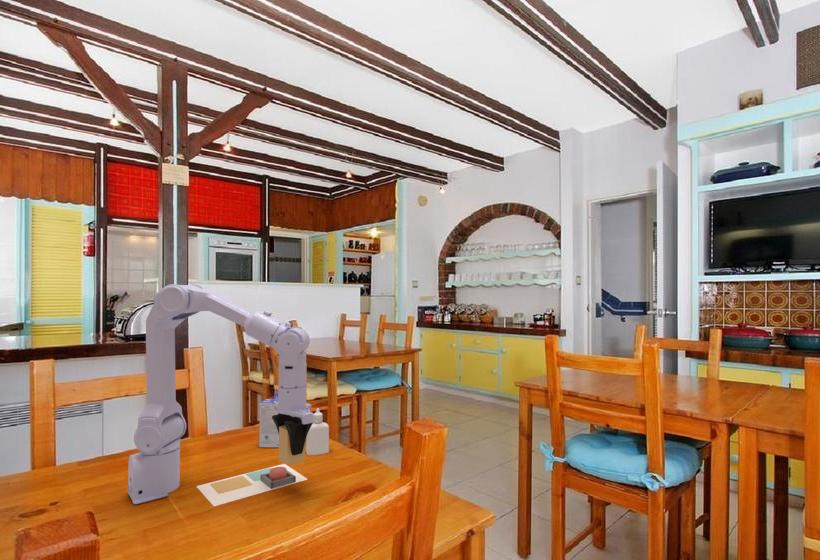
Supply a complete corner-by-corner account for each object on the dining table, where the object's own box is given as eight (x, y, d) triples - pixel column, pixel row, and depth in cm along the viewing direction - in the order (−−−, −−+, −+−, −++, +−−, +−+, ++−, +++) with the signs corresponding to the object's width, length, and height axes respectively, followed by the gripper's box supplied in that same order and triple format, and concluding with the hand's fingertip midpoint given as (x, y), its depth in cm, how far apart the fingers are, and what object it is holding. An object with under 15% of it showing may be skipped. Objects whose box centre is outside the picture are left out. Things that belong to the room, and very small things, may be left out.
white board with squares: (213, 510, 90) (213, 500, 90) (196, 489, 99) (196, 480, 99) (308, 482, 103) (308, 473, 103) (284, 467, 112) (284, 458, 112)
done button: (273, 483, 99) (273, 474, 99) (266, 478, 102) (266, 469, 102) (289, 479, 102) (289, 470, 102) (282, 474, 104) (282, 465, 104)
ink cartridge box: (300, 441, 131) (300, 389, 131) (295, 448, 125) (295, 394, 126) (265, 441, 131) (265, 389, 131) (258, 448, 125) (258, 394, 126)
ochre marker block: (287, 465, 95) (287, 430, 95) (278, 460, 98) (279, 426, 98) (305, 460, 97) (305, 427, 97) (296, 455, 100) (296, 422, 100)
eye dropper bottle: (310, 452, 122) (310, 406, 123) (330, 453, 122) (330, 406, 122) (304, 457, 118) (304, 410, 118) (325, 459, 117) (325, 411, 118)
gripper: (326, 388, 95) (326, 456, 94) (294, 378, 106) (294, 438, 106) (294, 393, 90) (294, 464, 90) (264, 382, 101) (264, 445, 101)
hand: (292, 451), depth 97 cm, fingers closed on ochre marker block, 4 cm apart
